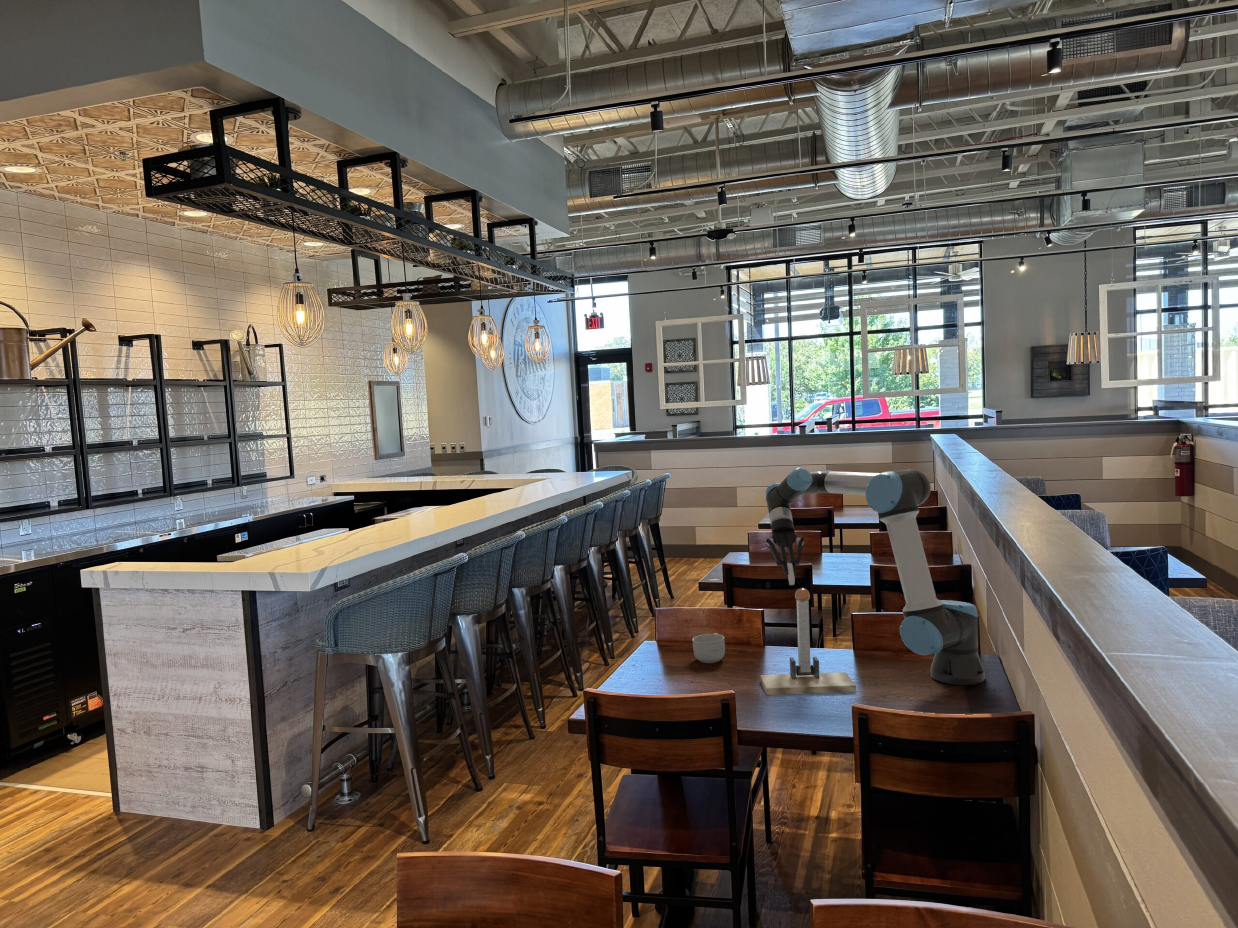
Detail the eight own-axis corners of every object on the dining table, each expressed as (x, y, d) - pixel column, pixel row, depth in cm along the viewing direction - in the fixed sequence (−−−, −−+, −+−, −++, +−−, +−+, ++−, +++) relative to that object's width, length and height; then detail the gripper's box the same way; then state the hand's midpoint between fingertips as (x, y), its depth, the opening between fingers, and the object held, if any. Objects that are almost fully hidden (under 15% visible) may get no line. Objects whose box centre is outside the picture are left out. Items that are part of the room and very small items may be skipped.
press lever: (811, 672, 247) (809, 586, 246) (814, 677, 243) (812, 589, 241) (795, 673, 248) (792, 586, 246) (797, 677, 243) (795, 589, 242)
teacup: (714, 667, 264) (714, 643, 264) (686, 662, 271) (685, 638, 271) (735, 656, 275) (735, 633, 275) (708, 651, 282) (707, 629, 282)
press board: (845, 678, 248) (845, 654, 248) (856, 691, 236) (855, 666, 236) (760, 681, 249) (759, 657, 248) (766, 694, 237) (765, 669, 236)
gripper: (799, 529, 278) (811, 588, 262) (761, 531, 278) (770, 589, 263) (802, 516, 272) (814, 575, 256) (763, 517, 273) (772, 576, 257)
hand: (792, 582), depth 260 cm, fingers closed
